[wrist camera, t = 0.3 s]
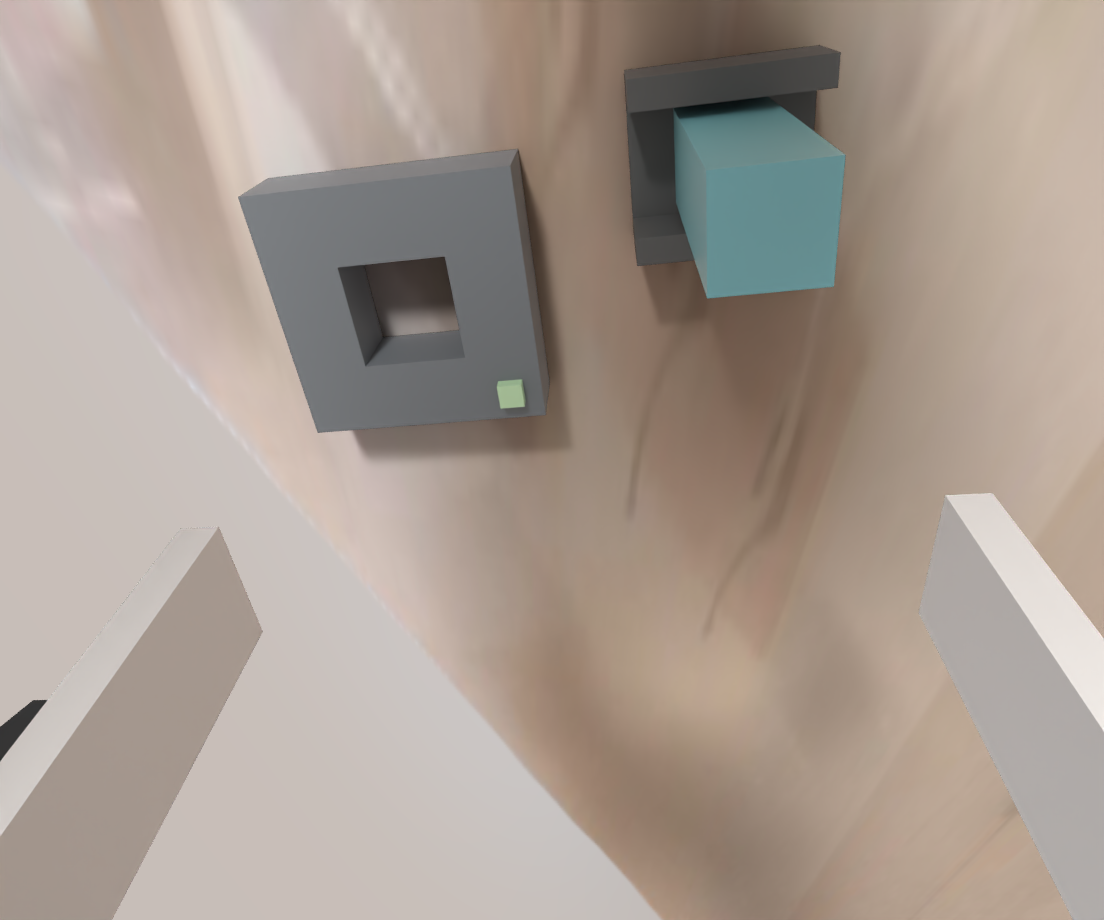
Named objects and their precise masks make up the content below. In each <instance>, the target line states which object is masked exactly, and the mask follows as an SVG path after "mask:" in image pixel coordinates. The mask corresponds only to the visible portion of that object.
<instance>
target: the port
mask: <svg viewBox="0 0 1104 920" xmlns="http://www.w3.org/2000/svg"><path fill="white" fill-rule="evenodd" d="M238 199H239V201H240V204H241V207H242V210H243V213H244V216H245V219H246V222H247V225H248V228H249V231H250V234H251V237H252V240H253V243H254V246H255V249H256V252H257V255H258V258H259V260H260V263H261V266H262V269H263V272H264V275H265V278H266V281H267V284H268V287H269V290H270V293H271V296H272V299H273V302H274V305H275V308H276V311H277V314H278V317H279V320H280V322H281V325H282V328H283V331H284V334H285V337H286V340H287V343H288V346H289V349H290V352H291V355H292V358H293V361H294V364H295V367H296V370H297V373H298V376H299V379H300V381H301V384H302V387H303V390H304V393H305V396H306V399H307V402H308V405H309V408H310V411H311V414H312V417H313V420H314V423H315V426H316V429H317V432H318V433H321V432H334V431H347V430H360V429H372V428H385V427H398V426H411V425H424V424H437V423H450V422H463V421H476V420H489V419H501V418H514V417H527V416H540V415H546V409H547V401H548V393H549V385H550V381H549V374H548V367H547V359H546V352H545V344H544V337H543V330H542V322H541V315H540V308H539V300H538V293H537V286H536V278H535V271H534V264H533V256H532V249H531V242H530V234H529V227H528V219H527V212H526V205H525V197H524V190H523V183H522V175H521V168H520V161H519V153H518V149H513V150H504V151H496V152H487V153H479V154H470V155H462V156H453V157H445V158H437V159H428V160H420V161H411V162H403V163H394V164H386V165H377V166H369V167H360V168H352V169H343V170H335V171H326V172H318V173H309V174H301V175H293V176H284V177H276V178H268V179H266V180H265V181H263V182H261V183H260V184H258V185H257V186H255V187H253V188H252V189H250V190H249V191H247V192H245V193H244V194H242V195H241V196H239V197H238ZM435 257H445V260H446V265H447V270H448V275H449V280H450V285H451V290H452V295H453V300H454V305H455V310H456V315H457V320H458V325H459V330H458V331H447V332H436V333H425V334H414V335H403V336H392V337H383V336H382V332H381V328H380V325H379V321H378V317H377V313H376V309H375V305H374V302H373V298H372V294H371V290H370V286H369V283H368V279H367V275H366V271H365V267H364V265H367V264H377V263H386V262H396V261H406V260H416V259H425V258H435Z"/></svg>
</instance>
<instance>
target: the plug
mask: <svg viewBox="0 0 1104 920" xmlns="http://www.w3.org/2000/svg"><path fill="white" fill-rule="evenodd" d="M673 116H674V151H675V185H676V204H677V207H678V210H679V214H680V217H681V220H682V223H683V226H684V229H685V232H686V235H687V238H688V241H689V244H690V247H691V251H692V254H693V257H694V260H695V263H696V266H697V269H698V272H699V275H700V278H701V281H702V284H703V288H704V291H705V294H706V297H707V298H718V297H729V296H740V295H750V294H761V293H772V292H783V291H793V290H804V289H815V288H826V287H834V280H835V268H836V257H837V246H838V235H839V223H840V212H841V201H842V189H843V178H844V167H845V156H846V155H845V154H844V153H842V152H841V151H840V150H838V149H837V148H836V147H834V146H833V145H832V144H830V143H829V142H828V141H826V140H825V139H824V138H822V137H821V136H820V135H818V134H817V133H816V132H814V131H813V130H812V129H810V128H809V127H808V126H806V125H805V124H804V123H802V122H801V121H800V120H798V119H797V118H796V117H794V116H793V115H792V114H790V113H789V112H788V111H786V110H785V109H784V108H783V107H781V106H780V105H779V104H777V103H776V102H775V101H773V100H772V99H771V98H769V97H762V98H753V99H745V100H737V101H729V102H721V103H712V104H704V105H696V106H688V107H679V108H673Z"/></svg>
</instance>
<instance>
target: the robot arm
mask: <svg viewBox="0 0 1104 920" xmlns="http://www.w3.org/2000/svg"><path fill="white" fill-rule="evenodd" d="M919 615H920V617H921V619H922V621H923V623H924V625H925V627H926V629H927V631H928V633H929V635H930V637H931V639H932V641H933V643H934V645H935V647H936V649H937V651H938V653H939V655H940V657H941V658H942V660H943V662H944V664H945V666H946V668H947V670H948V672H949V674H950V676H951V678H952V680H953V682H954V684H955V686H956V688H957V690H958V692H959V694H960V696H961V698H962V700H963V702H964V704H965V706H966V708H967V710H968V712H969V714H970V716H971V718H972V720H973V722H974V724H975V726H976V728H977V730H978V732H979V734H980V736H981V738H982V740H983V742H984V744H985V746H986V748H987V750H988V752H989V754H990V756H991V758H992V760H993V762H994V764H995V766H996V768H997V770H998V772H999V774H1000V776H1001V778H1002V780H1003V782H1004V784H1005V786H1006V788H1007V790H1008V792H1009V794H1010V796H1011V798H1012V800H1013V802H1014V804H1015V806H1016V808H1017V810H1018V812H1019V814H1020V816H1021V818H1022V820H1023V822H1024V823H1025V825H1026V827H1027V829H1028V831H1029V833H1030V835H1031V837H1032V839H1033V841H1034V843H1035V845H1036V847H1037V849H1038V851H1039V853H1040V855H1041V857H1042V859H1043V861H1044V863H1045V865H1046V867H1047V869H1048V871H1049V873H1050V875H1051V877H1052V879H1053V881H1054V883H1055V885H1056V887H1057V889H1058V891H1059V893H1060V895H1061V897H1062V899H1063V901H1064V903H1065V905H1066V907H1067V909H1068V911H1069V913H1070V915H1071V917H1072V919H1073V920H1104V638H1103V637H1102V636H1101V634H1100V633H1099V632H1098V631H1097V629H1096V628H1095V627H1094V625H1093V624H1092V623H1091V621H1090V620H1089V619H1088V617H1087V616H1086V615H1085V614H1084V612H1083V611H1082V610H1081V608H1080V607H1079V606H1078V604H1077V603H1076V602H1075V600H1074V599H1073V598H1072V597H1071V595H1070V594H1069V593H1068V591H1067V590H1066V589H1065V587H1064V586H1063V585H1062V584H1061V582H1060V581H1059V580H1058V578H1057V577H1056V576H1055V574H1054V573H1053V572H1052V570H1051V569H1050V568H1049V567H1048V565H1047V564H1046V563H1045V561H1044V560H1043V559H1042V557H1041V556H1040V555H1039V553H1038V552H1037V551H1036V550H1035V548H1034V547H1033V546H1032V544H1031V543H1030V542H1029V540H1028V539H1027V538H1026V537H1025V535H1024V534H1023V533H1022V531H1021V530H1020V529H1019V527H1018V526H1017V525H1016V523H1015V522H1014V521H1013V520H1012V518H1011V517H1010V516H1009V514H1008V513H1007V512H1006V510H1005V509H1004V508H1003V506H1002V505H1001V504H1000V503H999V501H998V500H997V499H996V497H995V496H994V495H993V493H983V494H960V495H945V499H944V503H943V507H942V512H941V516H940V521H939V525H938V529H937V534H936V538H935V543H934V547H933V551H932V556H931V560H930V565H929V569H928V573H927V578H926V582H925V587H924V591H923V595H922V600H921V604H920V609H919ZM262 632H263V631H262V629H261V626H260V624H259V622H258V619H257V617H256V614H255V612H254V610H253V607H252V605H251V603H250V600H249V598H248V595H247V593H246V591H245V588H244V586H243V583H242V581H241V579H240V577H239V574H238V572H237V569H236V567H235V564H234V562H233V560H232V558H231V555H230V553H229V550H228V548H227V545H226V543H225V541H224V539H223V536H222V534H221V531H220V529H219V527H206V528H205V527H204V528H181V529H180V530H179V531H178V532H177V534H176V535H175V536H174V537H173V539H172V540H171V542H170V543H169V544H168V545H167V547H166V548H165V549H164V550H163V552H162V553H161V554H160V556H159V557H158V558H157V560H156V561H155V562H154V563H153V565H152V566H151V567H150V568H149V570H148V571H147V572H146V574H145V575H144V576H143V578H142V579H141V580H140V582H139V583H138V584H137V585H136V587H135V588H134V589H133V591H132V592H131V593H130V594H129V596H128V597H127V598H126V600H125V601H124V602H123V603H122V605H121V606H120V607H119V609H118V610H117V611H116V613H115V614H114V615H113V616H112V618H111V619H110V620H109V621H108V623H107V624H106V625H105V627H104V628H103V629H102V631H101V632H100V633H99V634H98V636H97V637H96V638H95V640H94V641H93V642H92V644H91V645H90V646H89V647H88V649H87V650H86V651H85V653H84V654H83V655H82V657H81V658H80V659H79V660H78V662H77V663H76V664H75V665H74V667H73V668H72V669H71V671H70V672H69V673H68V674H67V676H66V677H65V679H64V680H63V681H62V682H61V684H60V685H59V686H58V687H57V689H56V690H55V691H54V693H53V694H52V695H51V697H50V698H49V699H48V700H33V701H32V702H30V703H29V704H28V705H27V706H26V707H25V708H23V709H22V710H21V711H19V712H18V713H17V714H16V715H14V716H13V717H12V718H11V719H10V720H8V721H7V722H6V723H5V724H3V725H2V726H1V727H0V920H112V919H113V917H114V915H115V913H116V911H117V909H118V907H119V905H120V903H121V901H122V900H123V898H124V896H125V894H126V892H127V890H128V888H129V886H130V884H131V882H132V881H133V879H134V877H135V875H136V873H137V871H138V869H139V867H140V865H141V863H142V861H143V860H144V858H145V856H146V854H147V852H148V850H149V848H150V846H151V844H152V842H153V840H154V839H155V837H156V835H157V832H158V830H159V829H160V827H161V825H162V823H163V821H164V819H165V817H166V816H167V814H168V812H169V810H170V808H171V806H172V804H173V802H174V800H175V798H176V797H177V794H178V793H179V791H180V789H181V787H182V785H183V783H184V781H185V779H186V777H187V775H188V774H189V772H190V770H191V768H192V766H193V764H194V762H195V760H196V758H197V756H198V754H199V753H200V751H201V749H202V747H203V745H204V743H205V741H206V739H207V737H208V735H209V733H210V732H211V730H212V728H213V726H214V724H215V722H216V720H217V718H218V716H219V714H220V712H221V711H222V708H223V707H224V705H225V703H226V701H227V699H228V697H229V695H230V693H231V691H232V690H233V688H234V686H235V683H236V682H237V680H238V678H239V676H240V674H241V672H242V670H243V669H244V666H245V665H246V663H247V661H248V659H249V657H250V655H251V653H252V651H253V649H254V648H255V646H256V644H257V642H258V640H259V638H260V636H261V634H262Z"/></svg>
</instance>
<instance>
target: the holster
mask: <svg viewBox="0 0 1104 920" xmlns="http://www.w3.org/2000/svg"><path fill="white" fill-rule="evenodd" d="M840 54H841V52H838V51H835V50H832V49H829V48H826V47H823V46H820V45H817V46H810V47H802V48H794V49H786V50H778V51H770V52H763V53H755V54H747V55H739V56H731V57H724V58H716V59H708V60H700V61H692V62H684V63H677V64H669V65H661V66H653V67H645V68H638V69H630V70H624V80H625V97H626V113H627V130H628V146H629V163H630V180H631V196H632V213H633V229H634V242H635V251H636V259H637V266H643V265H653V264H663V263H673V262H683V261H693V260H694V257H693V254H692V251H691V247H690V244H689V241H688V238H687V235H686V232H685V229H684V226H683V223H682V220H681V217H680V214H679V210H678V207H677V204H676V185H675V151H674V116H673V108H679V107H688V106H696V105H704V104H712V103H721V102H729V101H737V100H745V99H753V98H762V97H769V98H771V99H772V100H773V101H775V102H776V103H777V104H779V105H780V106H781V107H783V108H784V109H785V110H786V111H788V112H789V113H790V114H792V115H793V116H794V117H796V118H797V119H798V120H800V121H801V122H802V123H804V124H805V125H806V126H808V127H809V128H810V129H812V130H813V131H814V123H815V108H816V93H817V90H823V89H831V88H838V79H839V66H840Z"/></svg>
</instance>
